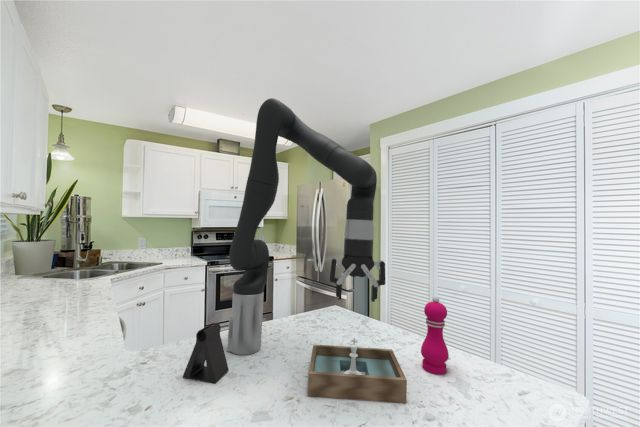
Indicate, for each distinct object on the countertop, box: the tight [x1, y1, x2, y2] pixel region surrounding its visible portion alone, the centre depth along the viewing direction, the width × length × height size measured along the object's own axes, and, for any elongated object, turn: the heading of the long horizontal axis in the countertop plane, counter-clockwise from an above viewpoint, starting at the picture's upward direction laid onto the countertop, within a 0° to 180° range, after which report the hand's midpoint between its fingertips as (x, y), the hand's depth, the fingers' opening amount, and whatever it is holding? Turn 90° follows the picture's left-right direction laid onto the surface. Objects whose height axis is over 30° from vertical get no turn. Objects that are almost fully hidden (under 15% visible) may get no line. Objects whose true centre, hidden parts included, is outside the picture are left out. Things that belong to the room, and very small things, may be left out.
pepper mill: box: [420, 295, 450, 375], centre depth 80 cm, size 7×7×20 cm
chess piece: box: [343, 337, 363, 375], centre depth 74 cm, size 5×5×10 cm
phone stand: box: [182, 322, 230, 384], centre depth 72 cm, size 9×6×12 cm, turn 78°
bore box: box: [306, 344, 408, 404], centre depth 72 cm, size 22×16×5 cm
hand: (356, 299), depth 74 cm, fingers open, 8 cm apart
